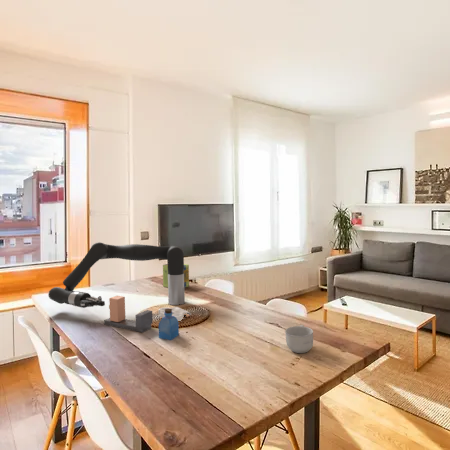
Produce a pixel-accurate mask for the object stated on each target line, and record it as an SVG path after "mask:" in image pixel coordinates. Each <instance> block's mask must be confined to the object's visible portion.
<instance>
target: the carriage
mask: <svg viewBox="0 0 450 450" xmlns="http://www.w3.org/2000/svg"><path fill="white" fill-rule="evenodd" d="M125 298H126V297H125V296H124V295H123V296H122V295H115V296H113V297H109V301H108V302H109V305H108V309H109V318H110V321H114V322H120V321H122V320H124V319H126V299H125Z"/></svg>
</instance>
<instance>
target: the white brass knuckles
mask: <svg viewBox="0 0 450 450" xmlns="http://www.w3.org/2000/svg"><path fill="white" fill-rule="evenodd" d="M165 309H172V316H175V317H176V319H177V320H178V321H181V320H182V319H183V320H184V318H183V317H184V314H186V313H187V314H189V315H191V316H192V312H191V311H187V310H186V309H184V308H183V309H182V308H181V307H179V306H173V307H160V308H158V310H157V317H159V318H160V317H162V318H163V317H165V315H164V312H165ZM158 314H159V315H158ZM181 322H182V321H181Z"/></svg>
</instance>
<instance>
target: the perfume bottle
mask: <svg viewBox="0 0 450 450" xmlns="http://www.w3.org/2000/svg"><path fill="white" fill-rule="evenodd" d="M164 315H165V317H163V318H162V319H161V318H160V321H159V322H158V338H159V339H163V340H168V341H172V340H173V339H176V338H177V337H178V336H179V334H180V333H179V331H180V330H179V329H180V328H179V327H180V326H179V323H180V322H178V320H177V319H176V317H175V316H172V309H165V312H164Z"/></svg>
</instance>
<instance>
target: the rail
mask: <svg viewBox="0 0 450 450" xmlns="http://www.w3.org/2000/svg"><path fill="white" fill-rule="evenodd" d="M103 321H104V323H103V324H104V325H106V326H111V327H115V328H118V329H119V328H121V329H125V330H128V331H129V330H130V331H134V332H139V333H146V331H148V330H151V329H152V324H153V310H149V309H146V310H144V311H142V312H139V313H137V314H135V320H132V319H127V318H125V319H124V320H122V321H120V322H114V321H110V317H109V318H106V319H104V320H103Z"/></svg>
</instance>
